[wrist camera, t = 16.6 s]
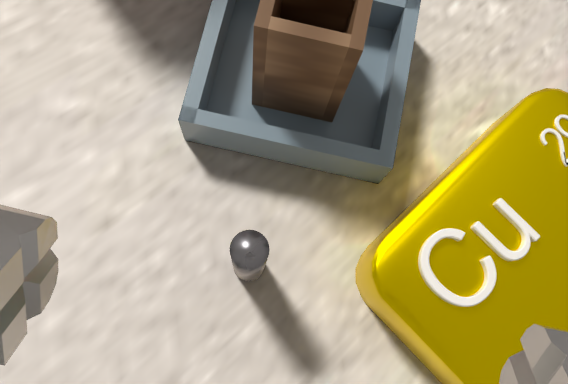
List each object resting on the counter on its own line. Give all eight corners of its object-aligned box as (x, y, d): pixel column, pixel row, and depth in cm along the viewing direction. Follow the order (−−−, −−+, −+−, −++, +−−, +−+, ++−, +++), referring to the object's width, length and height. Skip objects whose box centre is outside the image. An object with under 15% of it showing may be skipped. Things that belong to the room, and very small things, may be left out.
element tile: (546, 495, 26) (610, 532, 22) (337, 275, 28) (355, 266, 24) (710, 288, 30) (796, 281, 25) (512, 103, 31) (558, 65, 27)
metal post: (230, 277, 27) (225, 264, 21) (237, 247, 28) (234, 226, 21) (260, 284, 27) (264, 272, 21) (266, 254, 28) (273, 234, 21)
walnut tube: (251, 104, 29) (253, 25, 21) (269, 32, 30) (277, -68, 23) (332, 122, 29) (362, 50, 21) (346, 50, 30) (381, -43, 23)
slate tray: (185, 140, 29) (178, 119, 26) (227, -14, 31) (225, -47, 29) (378, 183, 29) (392, 168, 26) (405, 27, 32) (421, -2, 29)
